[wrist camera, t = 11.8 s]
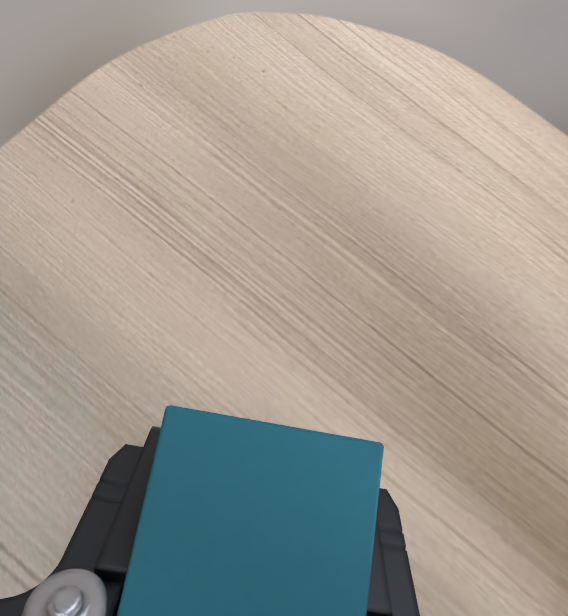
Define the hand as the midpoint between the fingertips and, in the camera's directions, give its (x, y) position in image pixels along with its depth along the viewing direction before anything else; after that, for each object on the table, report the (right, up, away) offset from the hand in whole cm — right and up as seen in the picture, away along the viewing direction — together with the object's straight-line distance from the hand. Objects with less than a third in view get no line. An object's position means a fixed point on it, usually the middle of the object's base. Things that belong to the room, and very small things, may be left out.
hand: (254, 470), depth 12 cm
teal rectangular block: (-1, -3, +4) cm, 5 cm away
